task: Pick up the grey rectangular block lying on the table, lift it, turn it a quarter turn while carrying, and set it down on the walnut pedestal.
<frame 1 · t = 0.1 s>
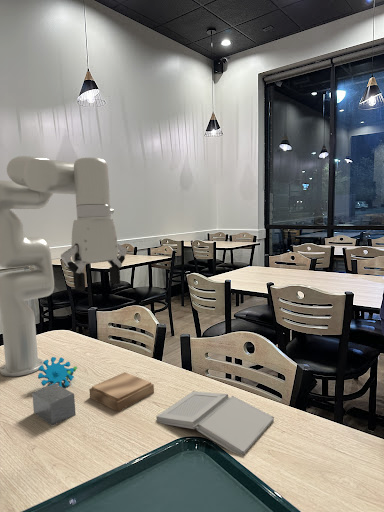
hand: (98, 286, 83), 31 cm above the table, tool pointing down, fingers open, 9 cm apart
grey rectangular block: (54, 414, 86), on the table
stand: (122, 395, 94), on the table
gear: (59, 385, 102), on the table
grey folded flat piece: (214, 423, 81), on the table
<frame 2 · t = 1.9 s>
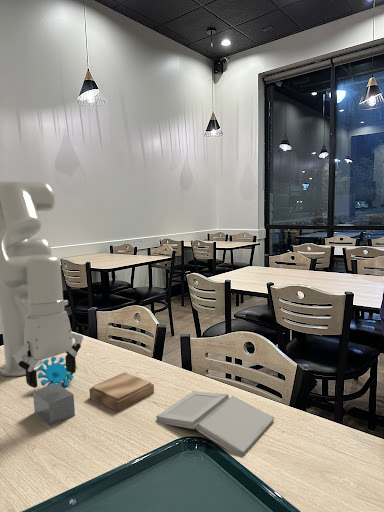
hand: (52, 378, 85), 9 cm above the table, tool pointing down, fingers open, 9 cm apart
nothing on the table moved.
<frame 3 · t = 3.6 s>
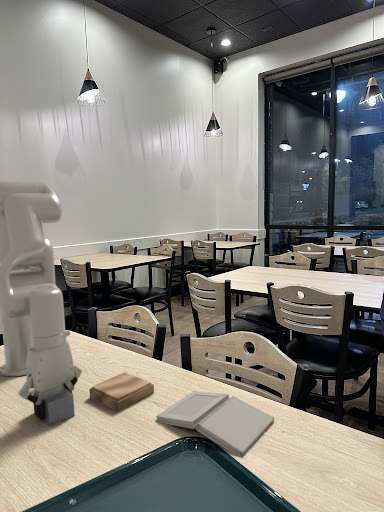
hand: (54, 411, 86), 1 cm above the table, tool pointing down, fingers closed on grey rectangular block, 6 cm apart
grey rectangular block: (54, 414, 86), on the table, touching gripper
everything else where it was.
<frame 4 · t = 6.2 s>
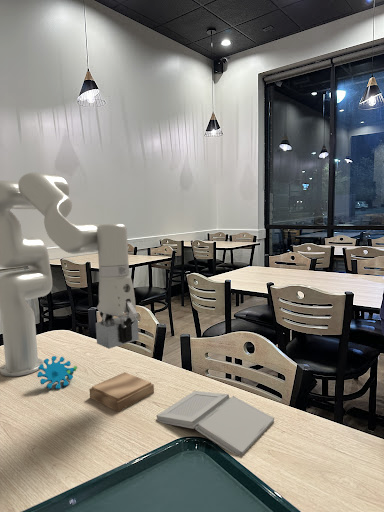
hand: (118, 338, 93), 16 cm above the table, tool pointing down, fingers closed on grey rectangular block, 6 cm apart
grey rectangular block: (118, 341, 93), point 15 cm above the table, touching gripper
everything else where it was.
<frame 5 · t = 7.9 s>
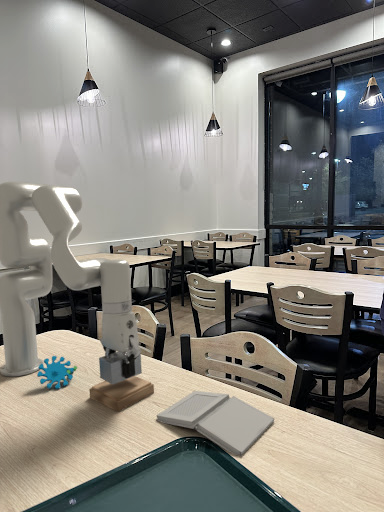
hand: (121, 372, 94), 6 cm above the table, tool pointing down, fingers closed on grey rectangular block, 6 cm apart
grey rectangular block: (121, 375, 94), point 5 cm above the table, touching gripper
everything else where it was.
when the fingers open (5 cm above the table, at t = 9.1 s): grey rectangular block drops 1 cm, resting on stand.
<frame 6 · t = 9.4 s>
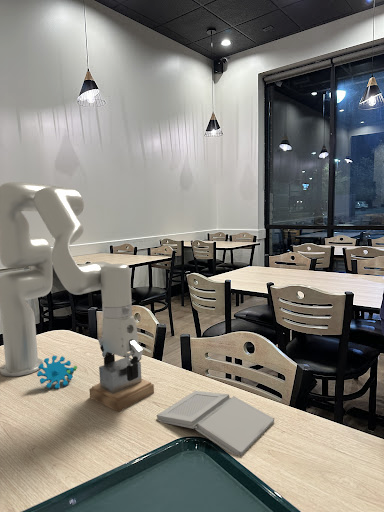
hand: (121, 374, 94), 6 cm above the table, tool pointing down, fingers open, 9 cm apart
grey rectangular block: (121, 384, 94), point 3 cm above the table, touching stand
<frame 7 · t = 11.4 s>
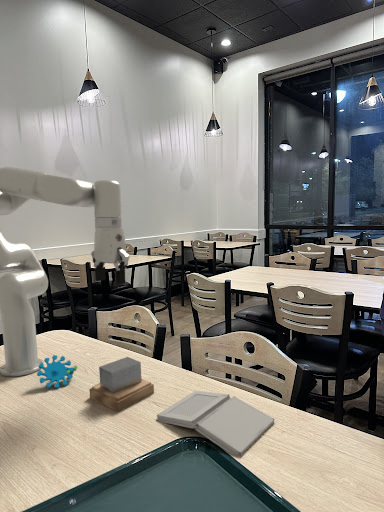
hand: (110, 282, 104), 29 cm above the table, tool pointing down, fingers open, 9 cm apart
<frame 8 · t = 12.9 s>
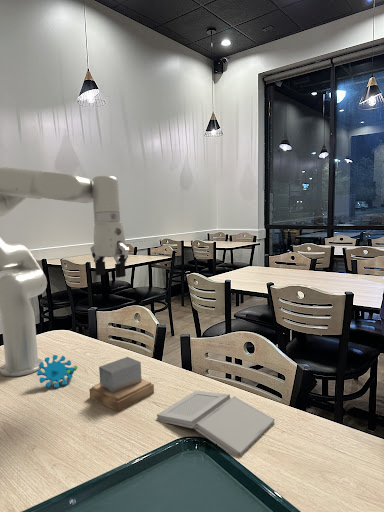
hand: (110, 275, 106), 30 cm above the table, tool pointing down, fingers open, 9 cm apart
at the end: grey rectangular block inside the target area on the stand (0.1 cm from its centre), point 3.0 cm above the stand's base; grey rectangular block tilted 0°; the gripper is holding nothing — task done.
